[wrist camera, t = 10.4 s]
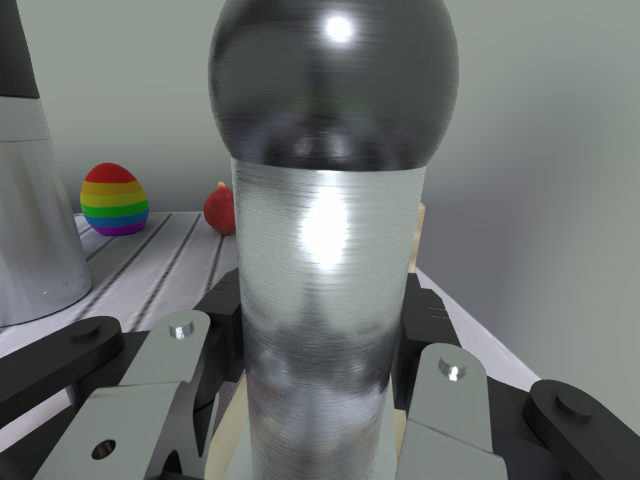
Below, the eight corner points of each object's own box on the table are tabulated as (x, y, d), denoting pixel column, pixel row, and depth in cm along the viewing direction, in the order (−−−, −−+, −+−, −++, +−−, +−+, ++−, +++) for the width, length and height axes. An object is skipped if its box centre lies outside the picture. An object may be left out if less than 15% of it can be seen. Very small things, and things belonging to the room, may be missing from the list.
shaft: (202, 569, 9) (50, -159, 3) (297, 314, 21) (301, 64, 15) (400, 618, 8) (664, -212, 3) (381, 325, 21) (418, 66, 15)
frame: (135, 632, 10) (31, 400, 6) (299, 273, 34) (301, 179, 30) (471, 729, 9) (633, 514, 5) (395, 283, 33) (410, 186, 29)
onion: (249, 228, 48) (247, 179, 45) (241, 242, 42) (238, 187, 39) (213, 227, 47) (208, 177, 44) (200, 241, 42) (194, 185, 39)
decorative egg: (83, 243, 40) (62, 168, 36) (94, 224, 47) (77, 159, 43) (151, 235, 44) (139, 166, 40) (152, 219, 50) (141, 158, 46)
